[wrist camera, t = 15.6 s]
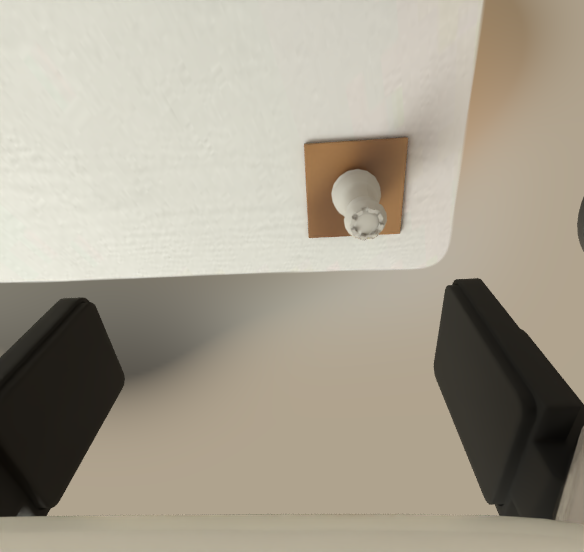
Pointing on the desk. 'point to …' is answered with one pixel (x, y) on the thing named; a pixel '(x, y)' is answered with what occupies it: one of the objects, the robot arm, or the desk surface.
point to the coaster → (344, 157)
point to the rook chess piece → (359, 203)
